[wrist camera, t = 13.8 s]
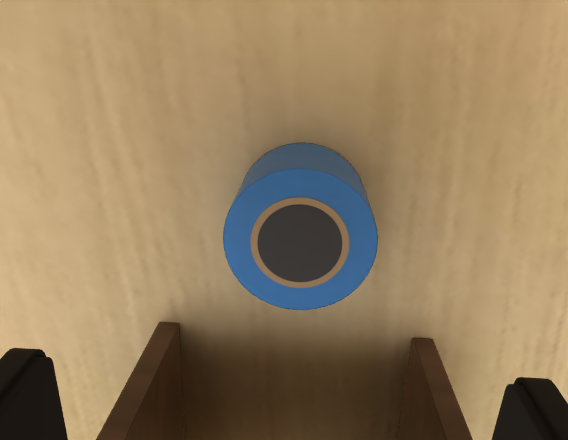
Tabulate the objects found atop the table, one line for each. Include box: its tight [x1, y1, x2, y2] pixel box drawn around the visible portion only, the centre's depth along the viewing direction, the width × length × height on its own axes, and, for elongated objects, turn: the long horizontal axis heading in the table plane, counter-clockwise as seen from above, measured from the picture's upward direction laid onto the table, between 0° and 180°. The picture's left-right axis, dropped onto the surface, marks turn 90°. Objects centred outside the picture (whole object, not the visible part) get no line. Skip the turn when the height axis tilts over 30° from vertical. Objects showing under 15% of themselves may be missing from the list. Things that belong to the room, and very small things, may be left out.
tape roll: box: [223, 143, 378, 310], centre depth 22 cm, size 7×7×5 cm
